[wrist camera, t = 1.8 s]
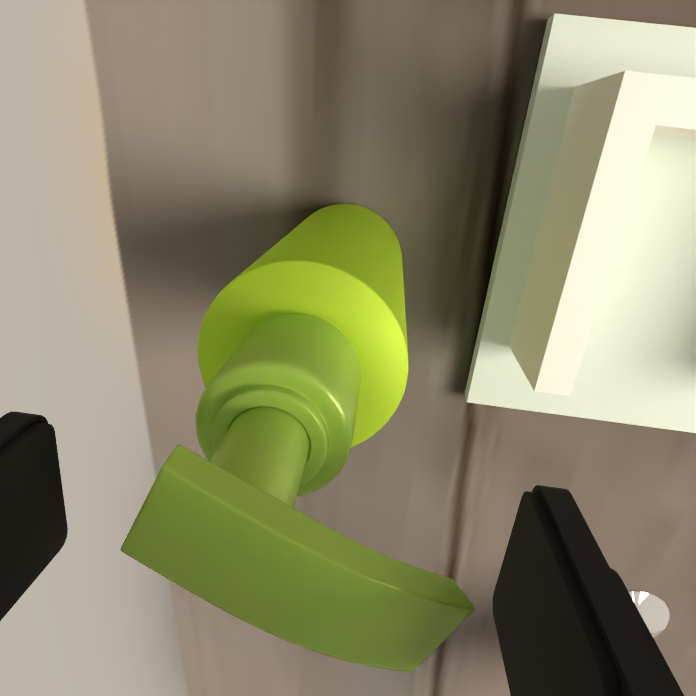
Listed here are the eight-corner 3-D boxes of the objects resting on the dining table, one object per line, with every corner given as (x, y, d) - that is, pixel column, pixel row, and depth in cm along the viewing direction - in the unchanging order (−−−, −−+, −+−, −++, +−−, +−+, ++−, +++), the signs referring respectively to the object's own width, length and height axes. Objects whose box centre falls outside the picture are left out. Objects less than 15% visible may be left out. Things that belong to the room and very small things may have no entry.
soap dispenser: (381, 344, 27) (354, 761, 9) (270, 281, 26) (-16, 595, 8) (441, 252, 25) (571, 552, 7) (322, 180, 24) (94, 295, 6)
